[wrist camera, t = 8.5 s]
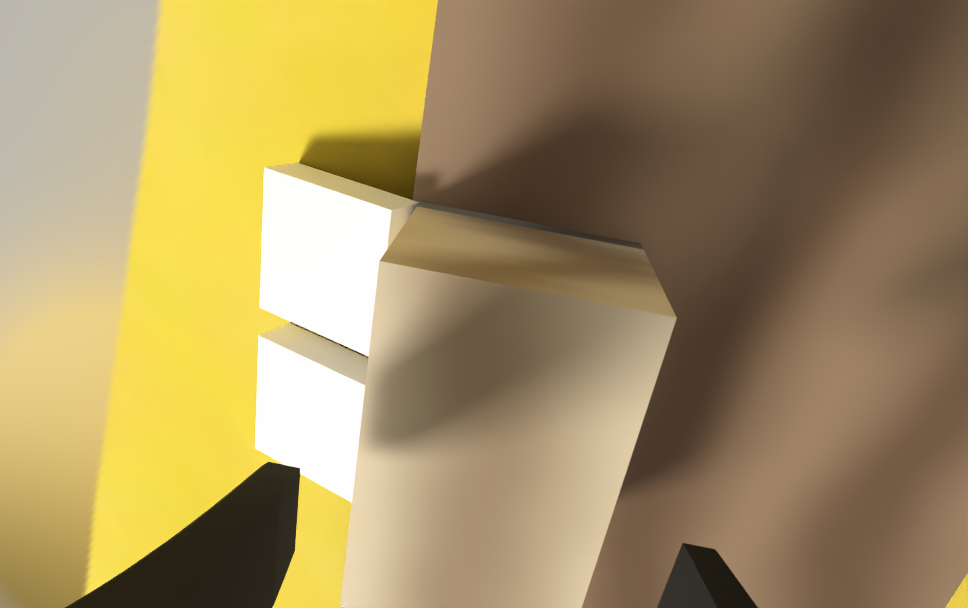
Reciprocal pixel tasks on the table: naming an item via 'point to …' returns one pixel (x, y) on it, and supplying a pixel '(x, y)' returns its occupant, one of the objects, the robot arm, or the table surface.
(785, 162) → the walnut board
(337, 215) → the paint flake
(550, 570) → the block
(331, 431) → the paint flake
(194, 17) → the table surface
